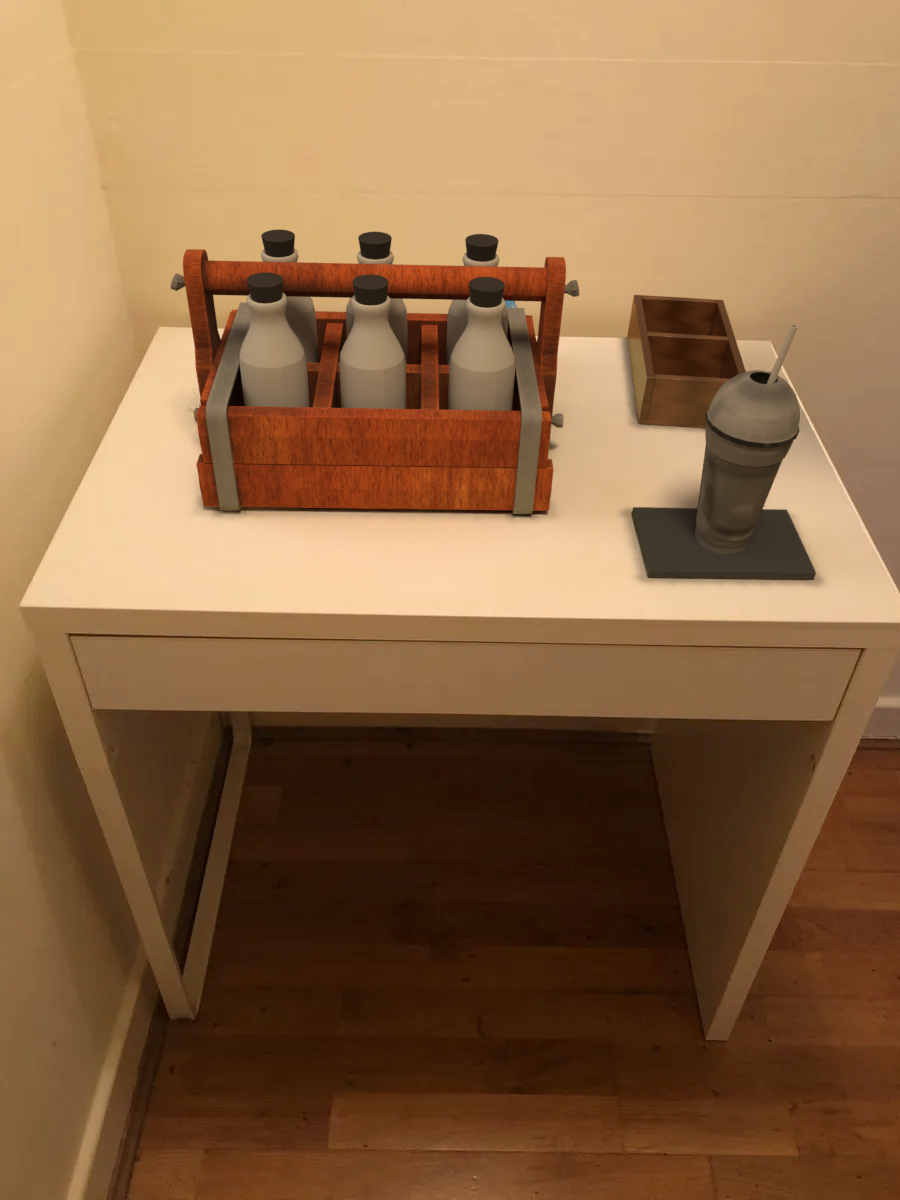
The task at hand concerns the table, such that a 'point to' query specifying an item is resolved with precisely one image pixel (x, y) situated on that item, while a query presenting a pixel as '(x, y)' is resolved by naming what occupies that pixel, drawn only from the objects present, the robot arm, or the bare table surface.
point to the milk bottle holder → (375, 380)
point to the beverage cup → (744, 453)
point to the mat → (682, 556)
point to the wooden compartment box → (679, 357)
